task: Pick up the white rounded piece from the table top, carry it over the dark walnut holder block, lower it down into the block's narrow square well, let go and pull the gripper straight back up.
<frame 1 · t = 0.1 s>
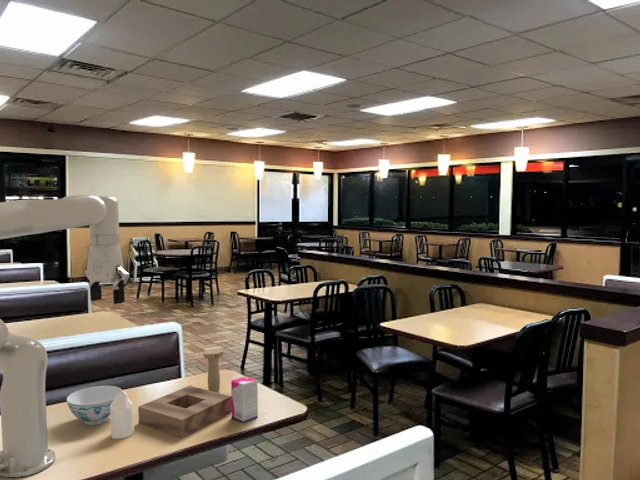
hand: (107, 301, 142), 37 cm above the table, tool pointing down, fingers open, 9 cm apart
supplement box: (244, 418, 151), on the table
handle: (214, 396, 168), on the table
chinaware: (96, 420, 150), on the table
white rounded piece: (122, 435, 140), on the table
well block: (186, 417, 151), on the table
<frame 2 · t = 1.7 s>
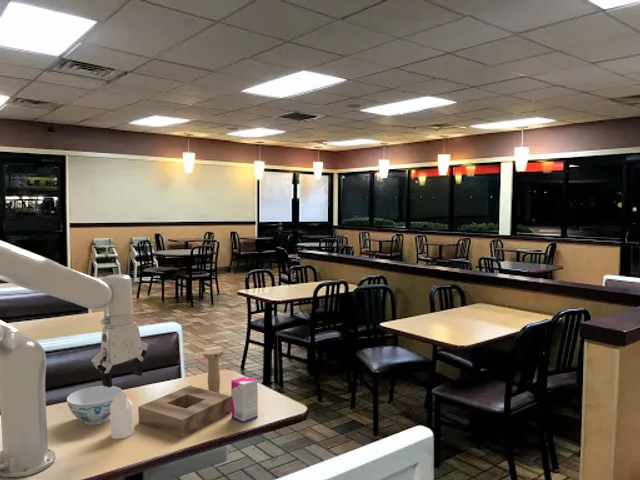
hand: (122, 380, 140), 15 cm above the table, tool pointing down, fingers open, 9 cm apart
nothing on the table moved.
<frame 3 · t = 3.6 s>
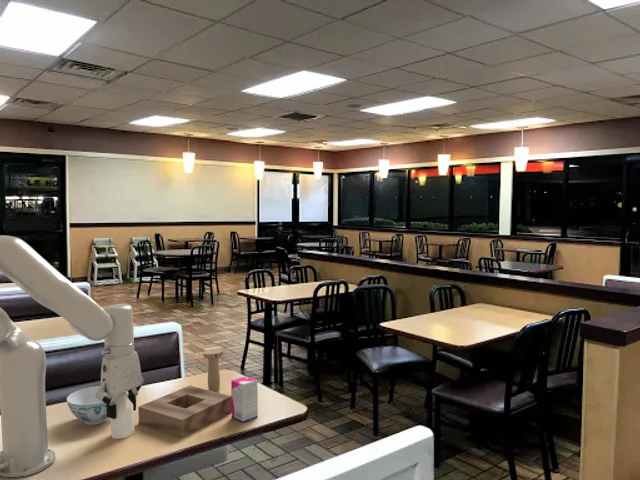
hand: (121, 413, 140), 6 cm above the table, tool pointing down, fingers closed on white rounded piece, 5 cm apart
white rounded piece: (122, 434, 140), on the table, touching gripper
everything else where it was.
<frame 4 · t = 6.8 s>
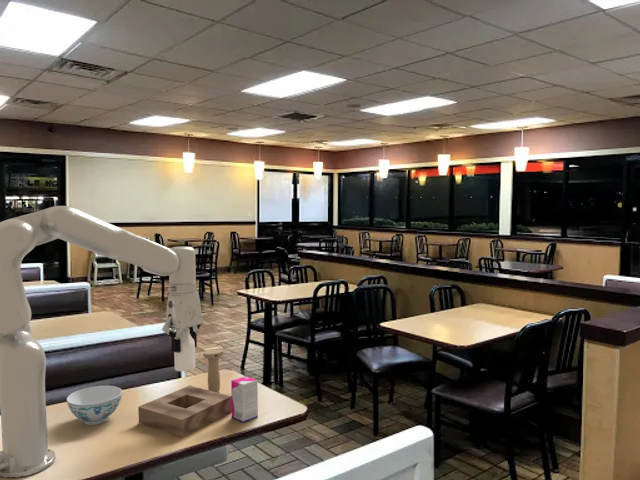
hand: (184, 348, 150), 21 cm above the table, tool pointing down, fingers closed on white rounded piece, 5 cm apart
white rounded piece: (184, 369, 150), point 15 cm above the table, touching gripper
everything else where it was.
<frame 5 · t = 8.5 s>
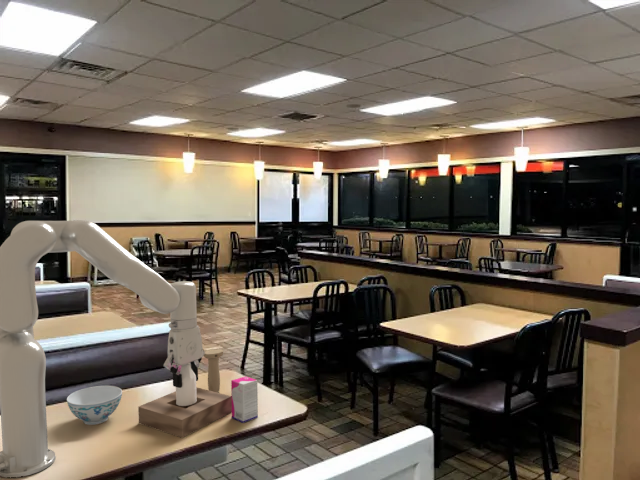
hand: (185, 382, 150), 11 cm above the table, tool pointing down, fingers closed on white rounded piece, 5 cm apart
white rounded piece: (186, 403, 151), point 4 cm above the table, touching gripper
everything else where it was.
when the fingers open (7 cm above the table, at t = 10.1 s): white rounded piece drops 1 cm, resting in well block.
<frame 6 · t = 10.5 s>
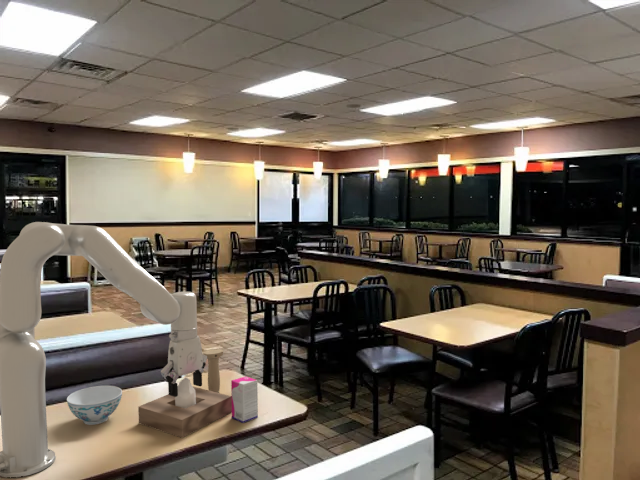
hand: (185, 390, 150), 8 cm above the table, tool pointing down, fingers open, 9 cm apart
white rounded piece: (185, 418, 151), resting in well block
everything else where it was.
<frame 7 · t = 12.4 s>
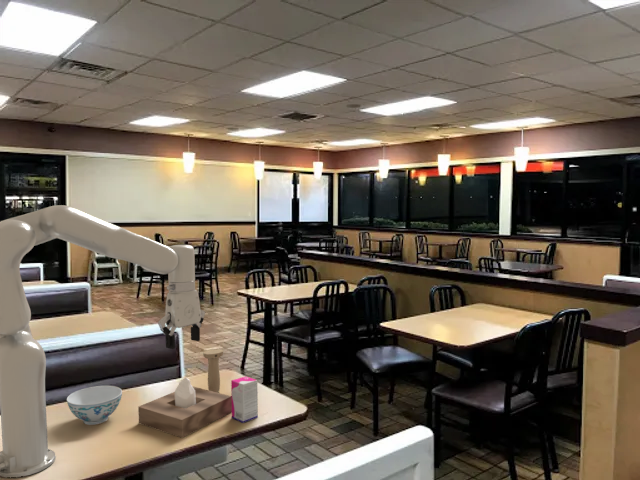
hand: (183, 344, 149), 22 cm above the table, tool pointing down, fingers open, 9 cm apart
nothing on the table moved.
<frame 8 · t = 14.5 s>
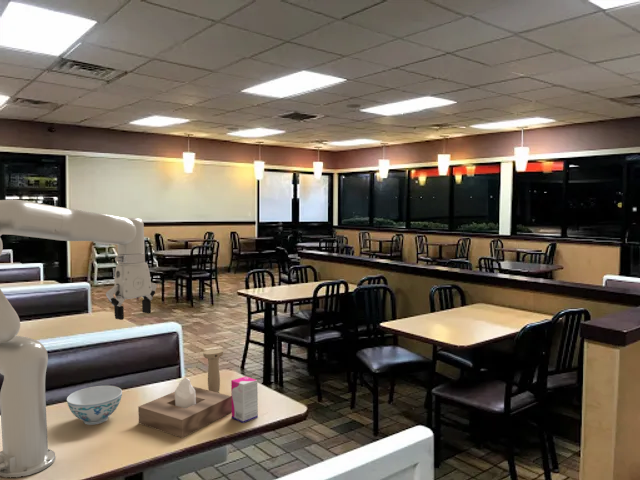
hand: (133, 315, 152), 30 cm above the table, tool pointing down, fingers open, 9 cm apart
nothing on the table moved.
at the end: white rounded piece 0.2 cm off-centre on the well block, point 0.0 cm above the well block's base; white rounded piece tilted 0°; the gripper is holding nothing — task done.
